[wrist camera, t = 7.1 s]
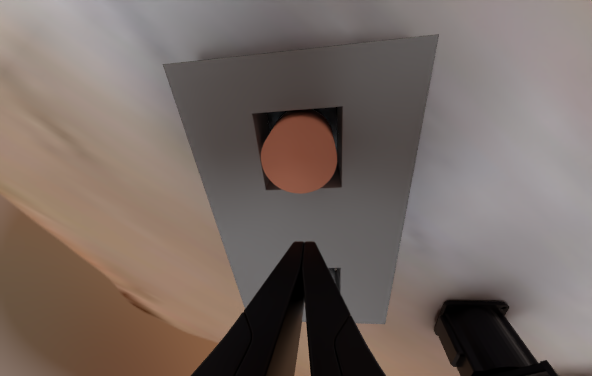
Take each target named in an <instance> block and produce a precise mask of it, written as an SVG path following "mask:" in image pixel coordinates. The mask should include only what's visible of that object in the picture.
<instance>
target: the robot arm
mask: <svg viewBox="0 0 592 376" xmlns="http://www.w3.org/2000/svg"><path fill="white" fill-rule="evenodd" d="M304 303H305V312H306V324H307V336H308V347H309V359H310V370H311V376H386V375H385V374H384V372H383V370H382V369H381V367H380V366H379V364H378V363H377V361H376V359H375V358H374V356H373V354H372V353H371V351H370V349H369V348H368V346H367V344H366V342H365V341H364V339H363V337H362V335H361V333H360V331H359V329H358V327H357V325H356V323H355V321H354V319H353V317H352V316H351V314H350V311H349V309H348V307H347V305H346V303H345V301H344V299H343V297H342V295H341V293H340V291H339V289H338V287H337V285H336V283H335V281H334V279H333V277H332V275H331V273H330V271H329V269H328V267H327V265H326V263H325V261H324V259H323V257H322V255H321V253H320V251H319V248H318V246H317V244H316V243H315V242H314V241H306V242H305V243H304V242H303V241H295V242H293V243H292V245H291V246H290V247H289V249H288V250H287V252H286V253H285V254H284V256H283V257H282V258H281V260H280V261H279V263H278V264H277V265H276V267H275V268H274V270H273V271H272V272H271V274H270V275H269V277H268V278H267V279H266V281H265V282H264V283H263V285H262V286H261V288H260V289H259V290H258V292H257V293H256V295H255V296H254V297H253V299H252V300H251V301H250V303H249V304H248V306H247V307H246V308H245V310H244V312H243V313H242V314H241V315H240V316H239V318H238V319H237V321H236V322H235V323H234V325H233V326H232V327H231V329H230V330H229V331H228V333H227V334H226V335H225V337H224V338H223V339H222V340H221V341H220V342H219V344H218V345H217V346H216V347H215V348H214V350H213V351H212V352H211V353H210V354H209V356H208V357H207V358H206V359H205V360H204V361H203V362H202V363H201V365H200V366H199V367H198V368H197V369H196V370H195V371H194V373H193V374H192V375H191V376H294V373H295V366H296V359H297V352H298V345H299V338H300V331H301V324H302V317H303V310H304ZM508 309H509V306H508V305H507V303H506V302H483V301H447V302H445V303H444V306H443V308H442V311H441V313H440V316H439V319H438V321H437V324H436V326H435V329H434V332H435V334H436V335H438V336H439V338H440V341H441V343H442V345H443V348H444V350H445V352H446V355H447V357H448V359H449V361H450V364H451V365H452V366H453V367H457V369H458V371H459V373H460V375H461V376H559V375H558V374H557V373H556V371H555V370H554V369H553V368H552V366H551V365H550V364H549V363H548V361H547V360H545V361H541V362H540V363H538V362H537V360H536V359H535V357H534V356H533V355H532V353H531V352H530V351H529V349H528V348H527V346H526V345H525V344H524V342H523V341H522V340H521V338H520V337H519V335H518V334H517V333H516V331H515V330H514V328H513V327H512V326H511V324H510V323H509V322H508V320H507V319H506V317H505V316H504V315H505V314H506V312H507V311H508Z"/></svg>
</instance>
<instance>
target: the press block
mask: <svg viewBox="0 0 592 376" xmlns="http://www.w3.org/2000/svg"><path fill="white" fill-rule="evenodd" d="M438 37H439V34H438V35H428V36H419V37H410V38H401V39H392V40H382V41H373V42H364V43H355V44H346V45H337V46H327V47H318V48H309V49H300V50H291V51H281V52H272V53H263V54H254V55H245V56H236V57H226V58H217V59H208V60H199V61H190V62H181V63H171V64H163V67H164V69H165V72H166V75H167V78H168V81H169V84H170V87H171V90H172V93H173V96H174V99H175V102H176V105H177V108H178V111H179V114H180V117H181V120H182V123H183V126H184V129H185V132H186V135H187V138H188V141H189V144H190V147H191V150H192V153H193V156H194V159H195V162H196V165H197V168H198V170H199V173H200V176H201V179H202V182H203V185H204V188H205V191H206V194H207V197H208V200H209V203H210V206H211V209H212V212H213V215H214V218H215V221H216V224H217V227H218V230H219V233H220V236H221V239H222V242H223V245H224V248H225V251H226V254H227V257H228V260H229V263H230V266H231V269H232V271H233V274H234V277H235V280H236V283H237V286H238V289H239V292H240V295H241V298H242V301H243V304H244V307H245V308H246V307H247V306H248V304H249V303H250V301H251V300H252V299H253V297H254V296H255V295H256V293H257V292H258V290H259V289H260V288H261V286H262V285H263V283H264V282H265V281H266V279H267V278H268V277H269V275H270V274H271V272H272V271H273V270H274V268H275V267H276V265H277V264H278V263H279V261H280V260H281V258H282V257H283V256H284V254H285V253H286V252H287V250H288V249H289V247H290V246H291V245H292V243H293V242H295V241H303V242H304V243H305V242H306V241H314V242H315V243H316V244H317V246H318V248H319V251H320V253H321V255H322V257H323V259H324V261H325V263H326V265H327V267H328V268H337V271H335V281H336V285H337V287H338V289H339V291H340V293H341V295H342V297H343V299H344V301H345V303H346V305H347V307H348V309H349V311H350V314H351V316H352V317H353V319H354V321H355V323H366V324H385V322H386V316H387V311H388V305H389V300H390V295H391V289H392V284H393V279H394V273H395V268H396V262H397V257H398V252H399V246H400V241H401V236H402V230H403V225H404V219H405V214H406V209H407V203H408V198H409V193H410V187H411V182H412V176H413V171H414V166H415V160H416V155H417V150H418V144H419V139H420V133H421V128H422V123H423V117H424V112H425V107H426V101H427V96H428V90H429V85H430V80H431V74H432V69H433V64H434V58H435V53H436V47H437V42H438ZM328 107H337V165H336V169H335V172H334V174H333V176H332V177H331V179H330V180H329V181H328V182H327V183H326V184H325V185H324V186H323V187H321V188H320V189H318V190H315V191H313V192H309V193H302V194H300V193H291V192H287V191H285V190H282V189H280V188H279V187H277V186H276V185H274V184H273V183H272V182H271V181H270V180H269V178H268V177H267V176H266V174H265V172H264V170H263V167H262V163H261V151H262V147H263V144H264V142H265V140H266V139H267V137H268V135H269V134H270V129H269V122H268V116H267V112H277V111H290V110H302V109H315V108H328ZM302 322H306V312H305V307H304V310H303V317H302Z"/></svg>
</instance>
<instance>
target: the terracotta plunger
mask: <svg viewBox="0 0 592 376" xmlns="http://www.w3.org/2000/svg"><path fill="white" fill-rule="evenodd" d="M261 163H262V167H263V170H264V172H265V174H266V176H267V177H268V178H269V180H270V181H271V182H272V183H273V184H274V185H276V186H277V187H279V188H280V189H282V190H285V191H287V192H291V193H300V194H302V193H309V192H313V191H315V190H318V189H320V188H321V187H323V186H324V185H325V184H326V183H327V182H328V181H329V180H330V179H331V177H332V176H333V174H334V172H335V169H336V165H337V152H336V148H335V143H334V138H333V133H332V129H331V126H330V124H329V122H328V121H327V119H326V118H325V117H324V116H323V115H322V114H320V113H319V112H317V111H315V110H312V109H302V110H290V111H288V112H286V113H285V114H283V115H282V116H281V117H280V118H279V120H278V121H277V122H276V124H275V126H274V127H273V129H272V131H271V132H270V134H269V135H268V137H267V139H266V140H265V142H264V144H263V147H262V151H261Z"/></svg>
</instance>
